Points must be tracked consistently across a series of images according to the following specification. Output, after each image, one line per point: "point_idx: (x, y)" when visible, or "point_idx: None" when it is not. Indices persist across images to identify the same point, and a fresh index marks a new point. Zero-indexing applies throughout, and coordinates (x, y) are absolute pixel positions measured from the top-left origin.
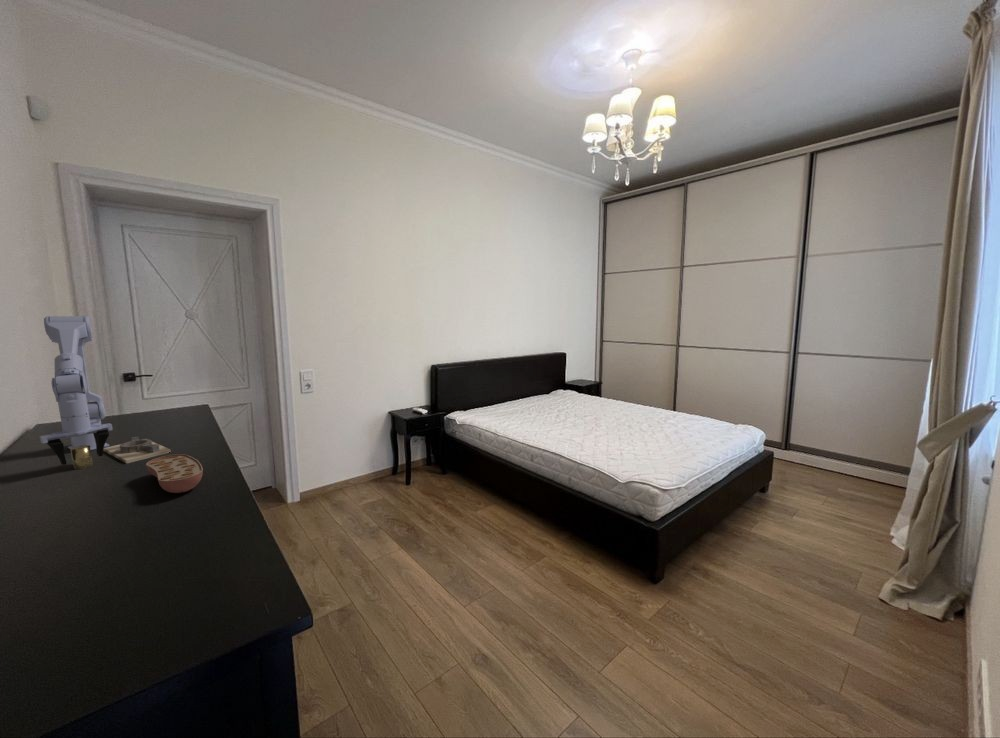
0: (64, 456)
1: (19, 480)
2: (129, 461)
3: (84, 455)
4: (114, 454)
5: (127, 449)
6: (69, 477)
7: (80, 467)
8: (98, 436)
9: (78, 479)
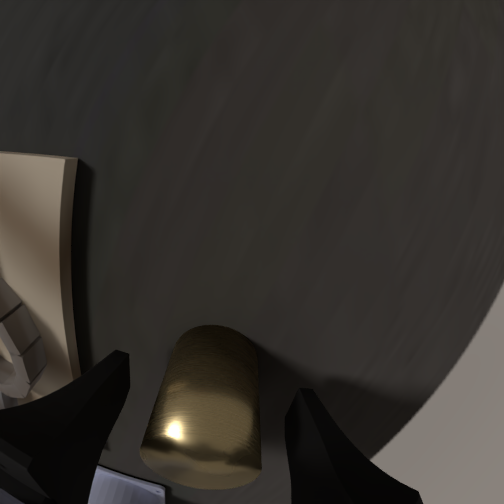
0: (318, 425)
1: (410, 398)
2: (60, 156)
3: (208, 384)
4: (70, 359)
5: (13, 318)
6: (357, 233)
7: (242, 341)
8: (46, 464)
9: (362, 132)
